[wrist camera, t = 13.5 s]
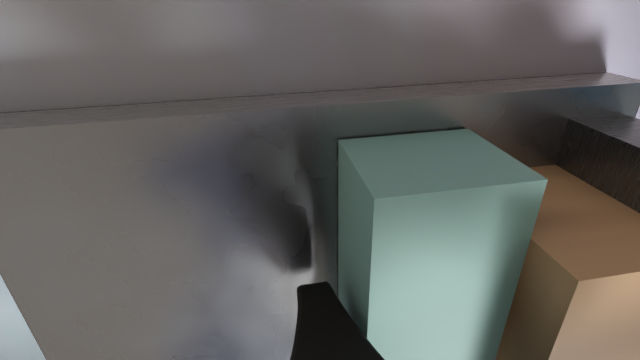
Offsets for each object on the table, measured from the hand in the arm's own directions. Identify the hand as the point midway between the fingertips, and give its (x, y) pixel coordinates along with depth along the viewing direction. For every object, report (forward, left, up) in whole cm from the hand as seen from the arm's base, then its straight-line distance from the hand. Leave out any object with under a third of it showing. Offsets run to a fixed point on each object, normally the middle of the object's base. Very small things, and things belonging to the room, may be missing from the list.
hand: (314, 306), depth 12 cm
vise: (0, -1, -3) cm, 3 cm away
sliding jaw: (0, -3, -1) cm, 3 cm away
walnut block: (0, -7, -1) cm, 7 cm away
